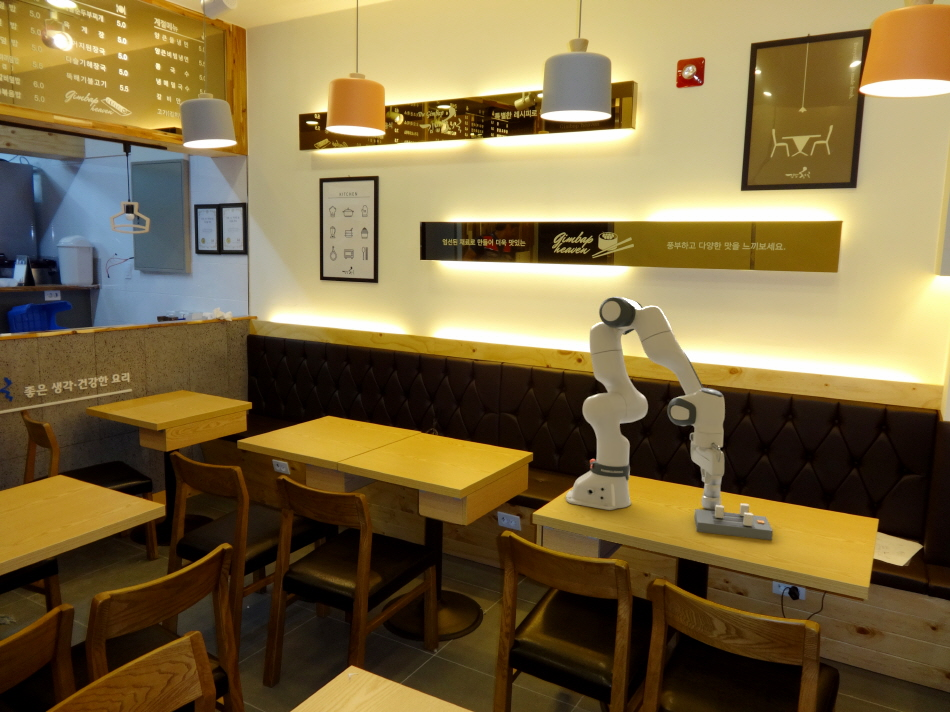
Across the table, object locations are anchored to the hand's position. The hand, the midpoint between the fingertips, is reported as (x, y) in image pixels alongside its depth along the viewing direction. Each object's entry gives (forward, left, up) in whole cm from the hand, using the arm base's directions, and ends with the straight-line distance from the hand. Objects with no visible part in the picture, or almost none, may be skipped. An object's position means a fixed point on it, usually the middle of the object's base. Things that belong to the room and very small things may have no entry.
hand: (705, 482), depth 223 cm
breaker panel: (+9, 0, -14) cm, 17 cm away
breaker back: (+13, +5, -11) cm, 18 cm away
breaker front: (+13, -4, -11) cm, 17 cm away
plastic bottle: (+4, +18, -15) cm, 23 cm away
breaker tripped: (+5, 0, -11) cm, 12 cm away
